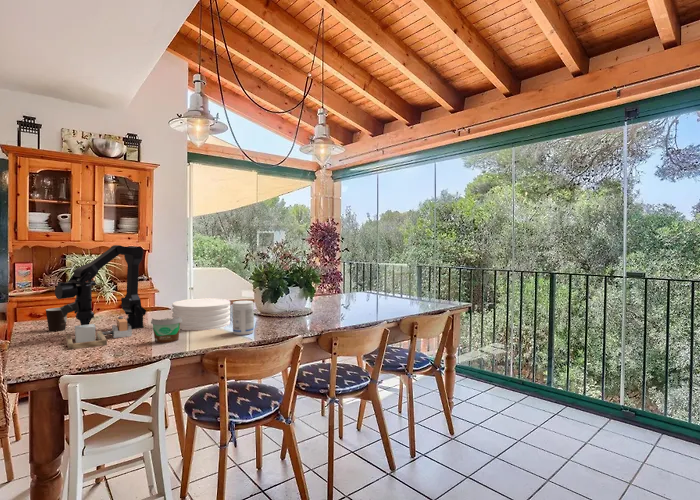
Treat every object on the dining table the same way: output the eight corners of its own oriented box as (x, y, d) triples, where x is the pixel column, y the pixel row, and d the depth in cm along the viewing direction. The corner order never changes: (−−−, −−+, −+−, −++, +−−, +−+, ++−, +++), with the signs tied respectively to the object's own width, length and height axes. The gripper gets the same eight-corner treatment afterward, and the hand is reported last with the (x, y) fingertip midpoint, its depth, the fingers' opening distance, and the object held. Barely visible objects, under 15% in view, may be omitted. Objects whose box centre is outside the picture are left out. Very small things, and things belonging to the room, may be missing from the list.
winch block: (129, 332, 192) (129, 323, 192) (131, 335, 186) (131, 326, 186) (101, 336, 185) (101, 326, 185) (103, 339, 180) (103, 328, 180)
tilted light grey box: (94, 337, 183) (94, 323, 183) (95, 340, 177) (95, 326, 177) (74, 339, 178) (74, 325, 178) (75, 343, 173) (75, 328, 173)
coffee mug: (56, 332, 191) (56, 311, 190) (41, 331, 192) (40, 310, 192) (78, 327, 202) (77, 307, 202) (63, 326, 204) (62, 306, 203)
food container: (151, 345, 171) (151, 321, 171) (151, 341, 177) (150, 318, 176) (183, 342, 177) (183, 318, 177) (182, 338, 182) (182, 316, 182)
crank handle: (123, 326, 191) (123, 315, 191) (127, 330, 184) (127, 319, 184) (116, 327, 189) (116, 316, 189) (119, 331, 182) (119, 319, 182)
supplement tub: (252, 330, 201) (252, 300, 201) (254, 334, 192) (255, 302, 192) (231, 331, 198) (231, 300, 197) (233, 336, 189) (233, 303, 188)
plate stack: (241, 323, 218) (241, 301, 217) (196, 333, 194) (196, 308, 194) (206, 317, 233) (206, 296, 232) (160, 325, 209) (160, 303, 209)
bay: (101, 335, 186) (101, 331, 186) (106, 344, 170) (106, 340, 170) (66, 339, 179) (66, 334, 179) (68, 349, 163) (68, 344, 163)
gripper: (60, 295, 184) (61, 329, 185) (62, 300, 169) (62, 338, 170) (90, 293, 191) (90, 327, 191) (94, 298, 176) (94, 335, 176)
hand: (84, 331), depth 182 cm, fingers closed
